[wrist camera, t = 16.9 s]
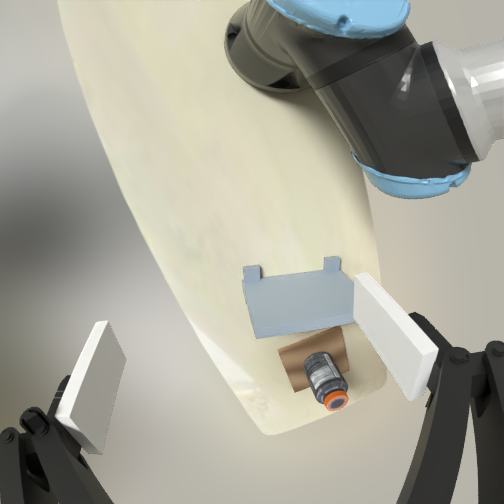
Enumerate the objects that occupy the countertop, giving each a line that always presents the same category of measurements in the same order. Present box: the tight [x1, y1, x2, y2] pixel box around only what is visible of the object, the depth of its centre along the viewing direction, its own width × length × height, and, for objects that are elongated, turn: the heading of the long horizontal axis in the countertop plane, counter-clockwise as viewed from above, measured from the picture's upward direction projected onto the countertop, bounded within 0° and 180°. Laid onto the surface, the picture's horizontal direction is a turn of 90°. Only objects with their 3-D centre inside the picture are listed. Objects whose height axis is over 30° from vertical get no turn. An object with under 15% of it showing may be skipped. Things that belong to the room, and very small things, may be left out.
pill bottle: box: [303, 351, 348, 411], centre depth 49 cm, size 6×6×11 cm
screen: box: [242, 256, 356, 339], centre depth 42 cm, size 16×6×13 cm, turn 93°
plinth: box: [278, 326, 349, 392], centre depth 55 cm, size 12×12×1 cm
